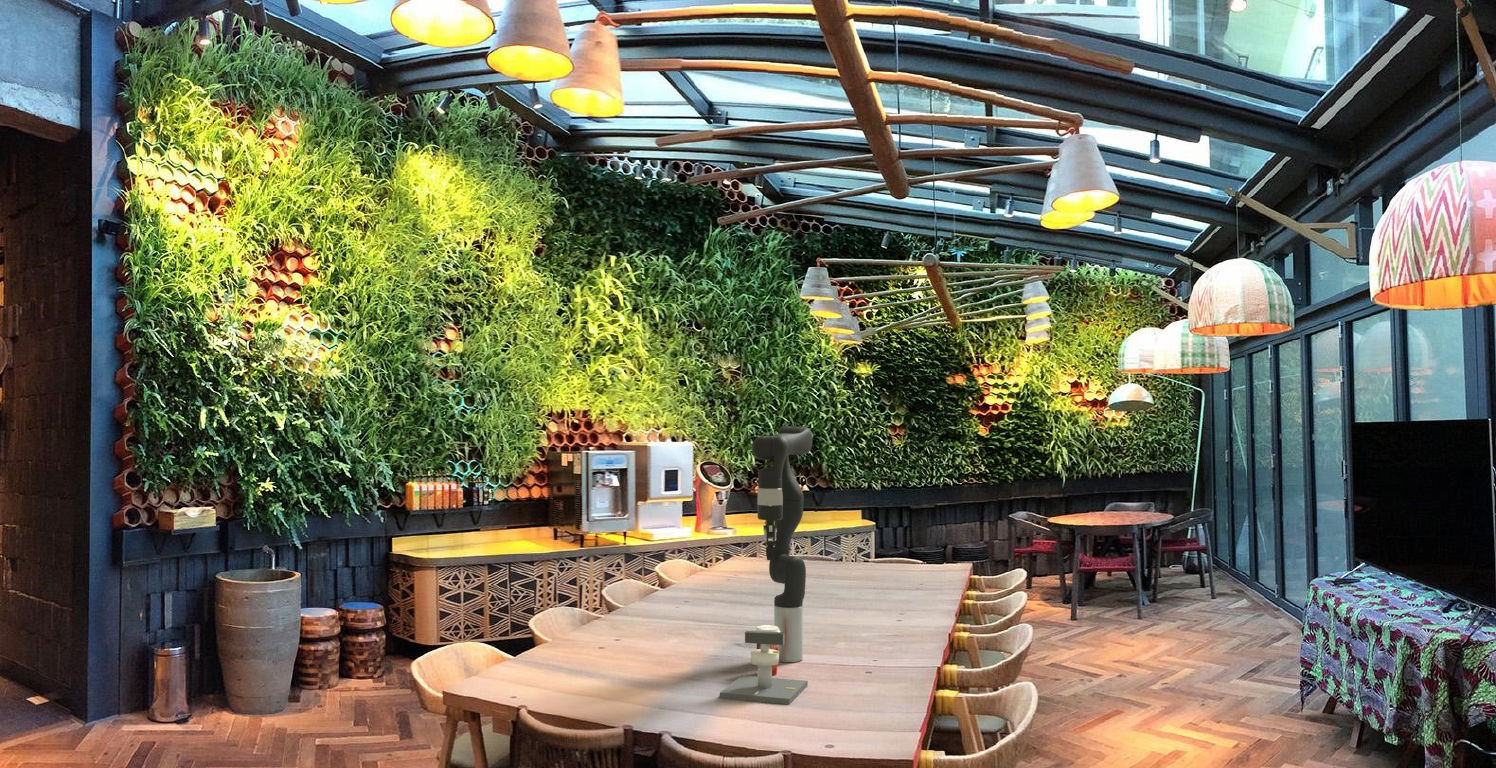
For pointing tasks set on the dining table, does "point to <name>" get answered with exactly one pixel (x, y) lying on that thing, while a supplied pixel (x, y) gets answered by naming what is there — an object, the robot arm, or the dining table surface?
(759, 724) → the dining table surface
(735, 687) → the post board
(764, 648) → the coupling
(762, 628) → the paper cup
